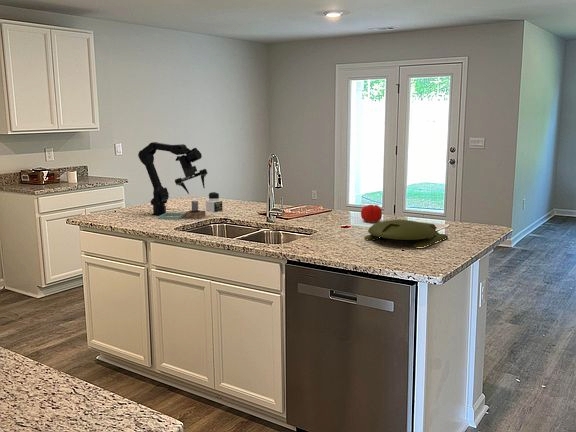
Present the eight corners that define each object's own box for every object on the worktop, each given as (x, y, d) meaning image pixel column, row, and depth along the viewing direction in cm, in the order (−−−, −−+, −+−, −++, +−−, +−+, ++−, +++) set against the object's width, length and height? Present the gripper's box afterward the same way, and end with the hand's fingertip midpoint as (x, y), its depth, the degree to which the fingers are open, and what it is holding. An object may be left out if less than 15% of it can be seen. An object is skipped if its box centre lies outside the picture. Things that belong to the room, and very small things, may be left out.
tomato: (365, 219, 320) (365, 203, 319) (385, 221, 314) (385, 205, 313) (357, 222, 311) (357, 206, 310) (377, 224, 305) (378, 207, 304)
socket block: (185, 220, 319) (184, 213, 318) (190, 217, 328) (190, 210, 327) (200, 220, 317) (200, 213, 317) (205, 217, 326) (205, 210, 325)
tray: (158, 220, 317) (157, 216, 316) (166, 216, 328) (166, 212, 328) (178, 221, 315) (178, 217, 314) (186, 217, 326) (186, 213, 326)
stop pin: (191, 217, 321) (190, 201, 319) (193, 216, 324) (192, 200, 323) (197, 217, 320) (196, 201, 319) (199, 216, 324) (198, 200, 322)
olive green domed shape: (392, 230, 292) (393, 212, 290) (449, 239, 272) (450, 219, 270) (355, 243, 265) (355, 222, 263) (415, 253, 246) (416, 231, 244)
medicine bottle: (214, 213, 338) (213, 193, 336) (205, 212, 342) (205, 192, 340) (222, 212, 344) (222, 192, 341) (214, 210, 348) (213, 191, 346)
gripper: (170, 169, 313) (180, 195, 313) (202, 157, 316) (212, 183, 315) (171, 172, 324) (181, 197, 324) (202, 160, 327) (212, 186, 327)
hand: (196, 191), depth 322 cm, fingers open, 9 cm apart
